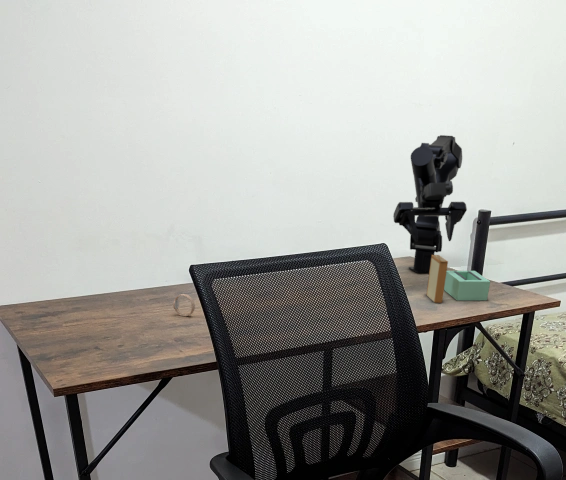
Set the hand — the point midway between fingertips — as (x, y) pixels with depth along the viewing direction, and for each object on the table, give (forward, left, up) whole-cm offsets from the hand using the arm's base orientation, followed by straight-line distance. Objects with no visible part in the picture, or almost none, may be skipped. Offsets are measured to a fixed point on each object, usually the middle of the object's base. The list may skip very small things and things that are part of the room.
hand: (433, 240), depth 191 cm
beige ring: (+11, -69, -14) cm, 71 cm away
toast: (+8, -2, -13) cm, 15 cm away
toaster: (+5, +9, -13) cm, 17 cm away
